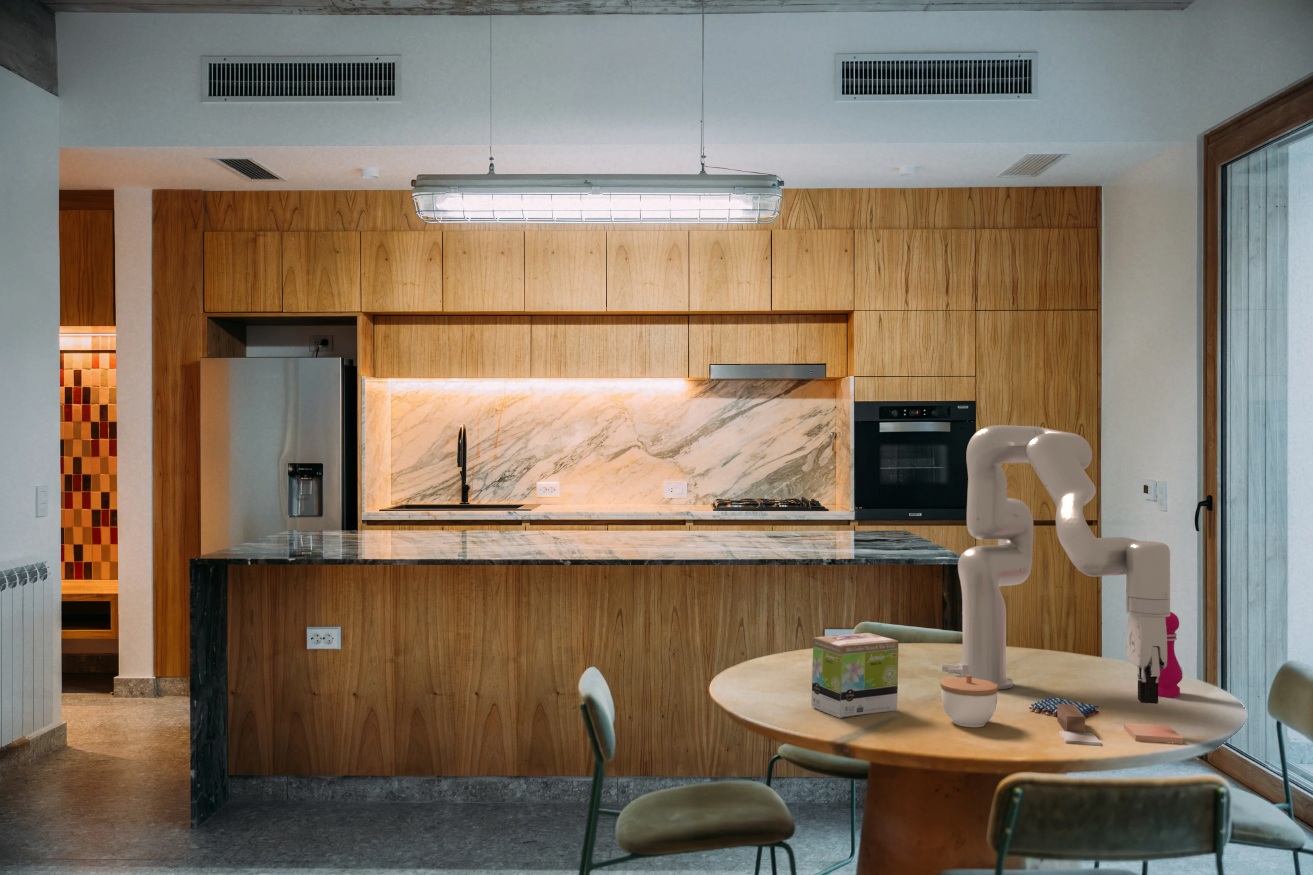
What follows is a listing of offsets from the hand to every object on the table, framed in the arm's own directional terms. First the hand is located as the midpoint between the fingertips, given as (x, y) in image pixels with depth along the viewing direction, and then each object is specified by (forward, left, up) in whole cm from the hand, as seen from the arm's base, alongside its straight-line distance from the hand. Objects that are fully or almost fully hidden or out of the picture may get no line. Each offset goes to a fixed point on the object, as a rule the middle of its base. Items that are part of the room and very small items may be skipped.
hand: (1147, 701), depth 182 cm
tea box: (-55, +3, -6) cm, 55 cm away
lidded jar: (-33, -2, -6) cm, 34 cm away
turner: (-14, -4, -6) cm, 16 cm away
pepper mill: (+12, +32, -6) cm, 35 cm away
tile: (0, +1, -5) cm, 6 cm away
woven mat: (-13, +11, -6) cm, 18 cm away
